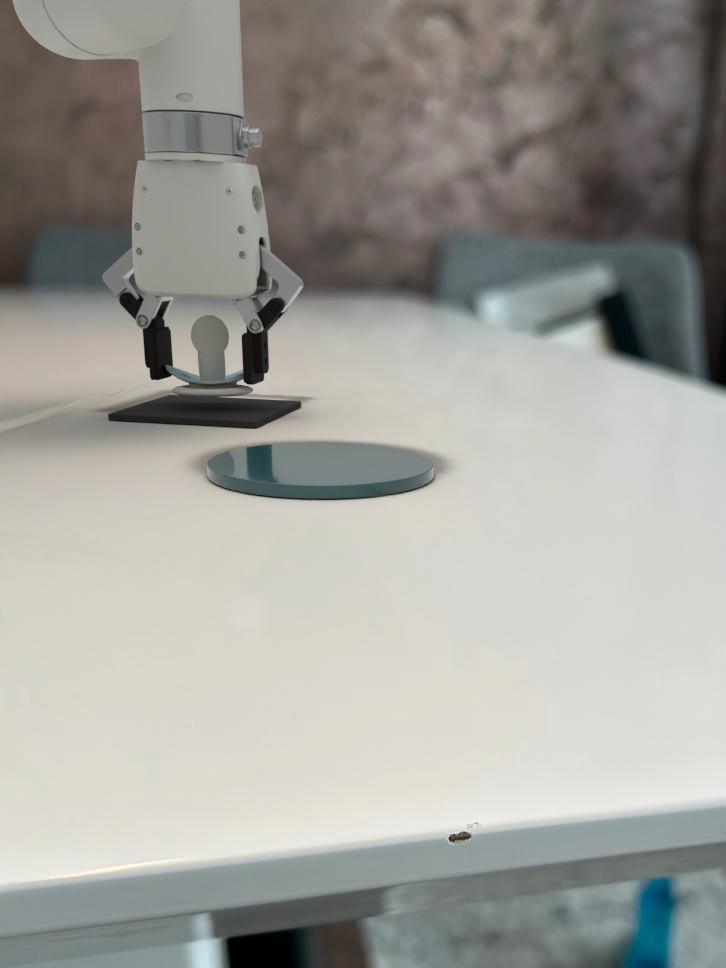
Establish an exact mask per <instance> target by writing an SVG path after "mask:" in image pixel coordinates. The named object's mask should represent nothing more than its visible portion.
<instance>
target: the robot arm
mask: <svg viewBox="0 0 726 968" xmlns="http://www.w3.org/2000/svg"><path fill="white" fill-rule="evenodd" d="M12 4H13V8H14V11H15V13H16V16H17V18H18V20H19V22H20V23H21V25H22V26H23V28H24V29H25V31H26V32H27V33H28V34H29V35H30V37H31V38H32V39H33V40H34V41H36V42H37V43H38V44H39V45H40V46H42V47H43V48H45V49H47V50H49V51H50V52H52V53H54V54H56V55H59V56H62V57H65V58H68V59H72V60H81V61H82V60H84V61H85V60H86V61H90V60H92V61H93V60H133V61H136V62H137V63H138V73H139V88H140V90H139V91H140V101H141V103H140V104H141V113H142V114H141V118H142V119H141V120H142V130H143V131H142V135H143V147H144V160H141V159H140V160H137V163H136V169H135V177H134V185H133V194H132V195H133V196H132V209H131V210H132V211H131V212H132V214H131V215H132V216H131V247H130V248H129V249H128V250H127V251H125V252H124V253H123V254H122V255H121V256H120V257H119V258H118V259H116V261H115V262H113V264H112V265H111V266H109V267H108V268H107V269H106V270H105V271H104V272H103V274H102V277H101V278H102V281H103V283H104V284H105V285H106V286H107V288H108V289H109V290H110V291H111V292H112V294H113V295H114V296H115V298H117V299H118V302H119V304H120V305H121V307H122V308H123V310H125V311H126V312H127V313H128V314H129V315H130V316H131V317H132V318H133V319H134V321H135V324H136V326H137V327H138V328H139V329H142V338H143V339H142V340H143V353H144V364H145V366H146V368H147V369H149V377H150V380H151V381H161V380H164V379H167V378H171V377H172V376H173V375H172V374H171V373H169V372H168V371H167V370H166V365H168V366H172V367H174V360H173V345H172V344H173V343H172V331H171V330H172V329H170V327H169V326H166V324H165V319H166V317H167V315H168V313H169V310H170V308H171V306H172V303H173V301H174V299H175V298H185V299H186V298H187V299H188V298H189V299H209V300H210V299H211V300H212V299H213V300H214V299H215V300H232V301H233V302H234V305H235V306H236V309H237V310H238V312H239V314H240V316H241V317H242V320H243V321H244V323H245V326H246V332H243V333H242V335H241V355H242V370H243V380H242V381H243V383H245V385H247V386H254V385H256V384H259V383H262V382H264V380H265V374H267V373H268V372H269V370H270V359H269V358H270V357H269V331H271V330H272V329H273V327H274V325H275V324H276V323H277V322H278V321H279V320H280V319H281V318H282V316H283V315H285V313H286V312H287V311H288V309H289V307H290V306H291V304H293V302H294V301H295V299H296V298H297V297H298V296H299V294H300V293H301V291H302V290H303V289H304V286H305V284H304V281H303V279H302V278H301V277H300V276H299V275H297V273H295V272H294V271H293V270H292V269H291V268H290V267H288V266H287V265H286V264H285V263H284V262H283V261H282V260H281V259H280V258H278V256H276V255H275V254H274V253H273V252H272V250H271V243H270V242H271V241H270V233H269V224H268V218H267V210H266V205H265V196H264V192H263V187H262V182H261V177H260V173H259V168H258V166H257V165H256V164H251V163H247V158H248V157H249V152H250V149H251V150H252V149H253V148H262V147H263V145H264V135H263V130H262V129H261V127H253V126H252V125H249V124H248V120H247V119H245V106H244V105H245V104H244V79H243V77H244V75H243V54H242V53H243V51H242V50H243V49H242V29H241V6H240V5H241V4H240V0H12ZM132 275H133V276H134V282H135V284H136V287H137V288H138V290H140V291H141V292H143V293H145V296H144V297H143V296H142V295H141V294H140V293H139V292H138V291H136V290H135V289H134V288H133V286H132V284H131V282H130V277H131V276H132ZM273 280H274V281H275V282H276V283H277V285H278V287H277V290H276V291H275V293H274V295H273V296H272V297H271V298H270V299H269V300H268V301H267V302H266V303H265V304H264V302H263V300H262V298H261V297H262V296H264V295H266V294H268V293H269V292H270V291H271V289H272V286H273Z"/></svg>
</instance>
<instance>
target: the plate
mask: <svg viewBox="0 0 726 968" xmlns="http://www.w3.org/2000/svg"><path fill="white" fill-rule="evenodd" d="M434 470H435V465H434V462H433V461H432V460H431V458H429V457H427V456H425V455H422V454H420V453H417V452H414V451H410V450H406V449H401V448H396V447H390V446H383V445H375V444H365V443H352V442H351V443H350V442H327V441H325V442H324V441H321V442H319V441H318V442H314V441H312V442H310V441H309V442H308V441H307V442H285V443H272V444H261V445H254V446H246V447H241V448H235V449H231V450H227V451H224V452H221V453H218V454H216V455H214V456H212V457H210V458H209V459H208V461H207V462H206V476H207V478H208V480H209V481H210V482H211V483H213V484H215V485H217V486H218V487H221V488H224V489H227V490H231V491H234V492H239V493H244V494H248V495H249V494H250V495H255V496H263V497H272V498H286V499H300V500H301V499H304V500H339V499H341V500H343V499H360V498H369V497H370V498H371V497H380V496H388V495H394V494H400V493H404V492H409V491H412V490H416V489H418V488H422V487H424V486H427V485H428V484H429V483H430V482H432V480H433V479H434V472H435V471H434Z"/></svg>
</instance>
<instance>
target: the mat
mask: <svg viewBox="0 0 726 968" xmlns="http://www.w3.org/2000/svg"><path fill="white" fill-rule="evenodd" d="M301 407H302V401H301V400H286V399H267V398H266V399H265V398H247V397H246V398H244V397H229V396H228V397H192V396H182V395H177V394H167V395H163V396H160V397H157V398H154V399H151V400H147V401H145V402H142V403H141V402H140V403H138V404H135V405H132V406H129V407H126V408H122V409H119V410H116V411H113V412H109V413H108V414H107V419H108V421H117V422H136V423H156V424H170V425H171V424H173V425H190V426H208V427H210V426H212V427H227V428H243V429H244V428H245V429H257V428H259V427H261V426H264V425H266V424H268V423H270V422H272V421H274V420H277V419H279V418H280V417H283V416H285V415H287V414H290V413H291V412H294V411H296V410H298V409H299V408H301Z"/></svg>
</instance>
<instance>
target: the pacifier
mask: <svg viewBox="0 0 726 968" xmlns="http://www.w3.org/2000/svg"><path fill="white" fill-rule="evenodd" d="M190 339H191V343H192V345H193V347H194V349H195V350H196V351H197V363H198V365H197V366H198V374H195V373H191V372H189V371H185V370H183V369H180V368H177V367H174V366H173V367H172V366H168V365H166V370H167V371H168V372H169V373H171V374H172V376H173V377H174V378H176V379H178V380H180V381H181V382H185V383H188V384H183V385H178V386H175V387H174V388H172V389H171V392H172V393H173V394H174V395H182V396H192V397H228V398H229V397H238V396H246V395H249V394H251V393H253V392H254V389H253V387H252V386H250V385H246V384H245V385H244V384H238V382H240V381H244V380H243V369H240V370H238V371H236V372H233V373H230V374H227V375H226V356H225V354H226V353H225V351H226V349H227V347H228V345H229V341H230V333H229V329H228V327H227V325H226V324H225V321H223V320H222V319H221V318H219V317H217V316H216V315H212V314H209V315H208V314H206V315H205V314H204V315H202V316H200V317H199V318H197V319H196V320H195V321H194V323H193V324H192V327H191V330H190Z"/></svg>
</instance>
